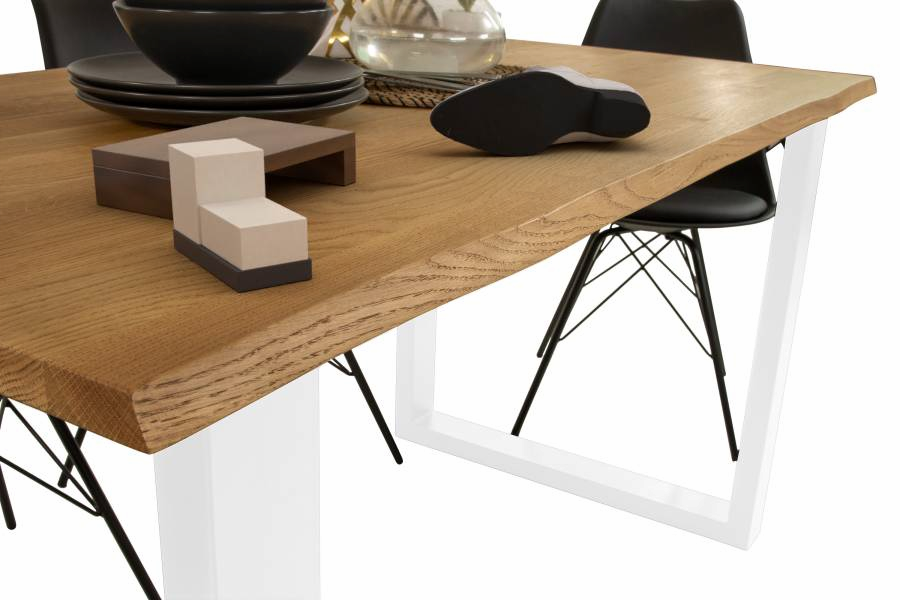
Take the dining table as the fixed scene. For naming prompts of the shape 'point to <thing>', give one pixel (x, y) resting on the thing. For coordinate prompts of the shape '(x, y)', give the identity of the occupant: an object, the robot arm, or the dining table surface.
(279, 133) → the shoe shelf
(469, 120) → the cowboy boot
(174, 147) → the trainer
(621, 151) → the dining table surface
